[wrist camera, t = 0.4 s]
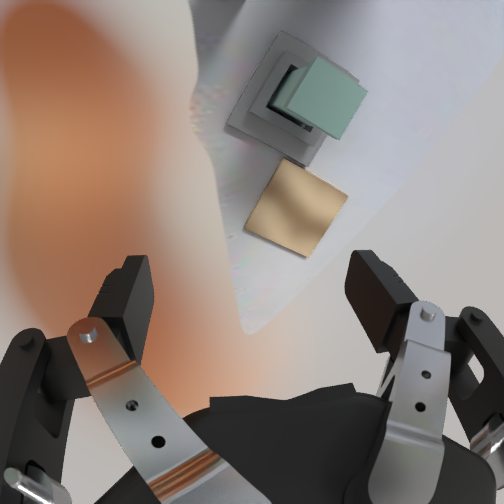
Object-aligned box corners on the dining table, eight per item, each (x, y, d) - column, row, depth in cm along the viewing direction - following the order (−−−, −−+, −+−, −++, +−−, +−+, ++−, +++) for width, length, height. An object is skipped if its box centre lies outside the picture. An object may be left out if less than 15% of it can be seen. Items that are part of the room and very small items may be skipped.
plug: (285, 69, 30) (317, 56, 20) (322, 92, 31) (368, 91, 21) (263, 105, 32) (286, 107, 21) (301, 127, 33) (339, 140, 23)
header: (280, 32, 27) (285, 26, 25) (356, 80, 31) (367, 80, 28) (225, 123, 32) (226, 124, 29) (305, 165, 35) (313, 170, 33)
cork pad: (283, 157, 35) (284, 158, 34) (346, 194, 38) (348, 196, 37) (243, 226, 38) (244, 228, 38) (307, 255, 42) (308, 257, 41)
